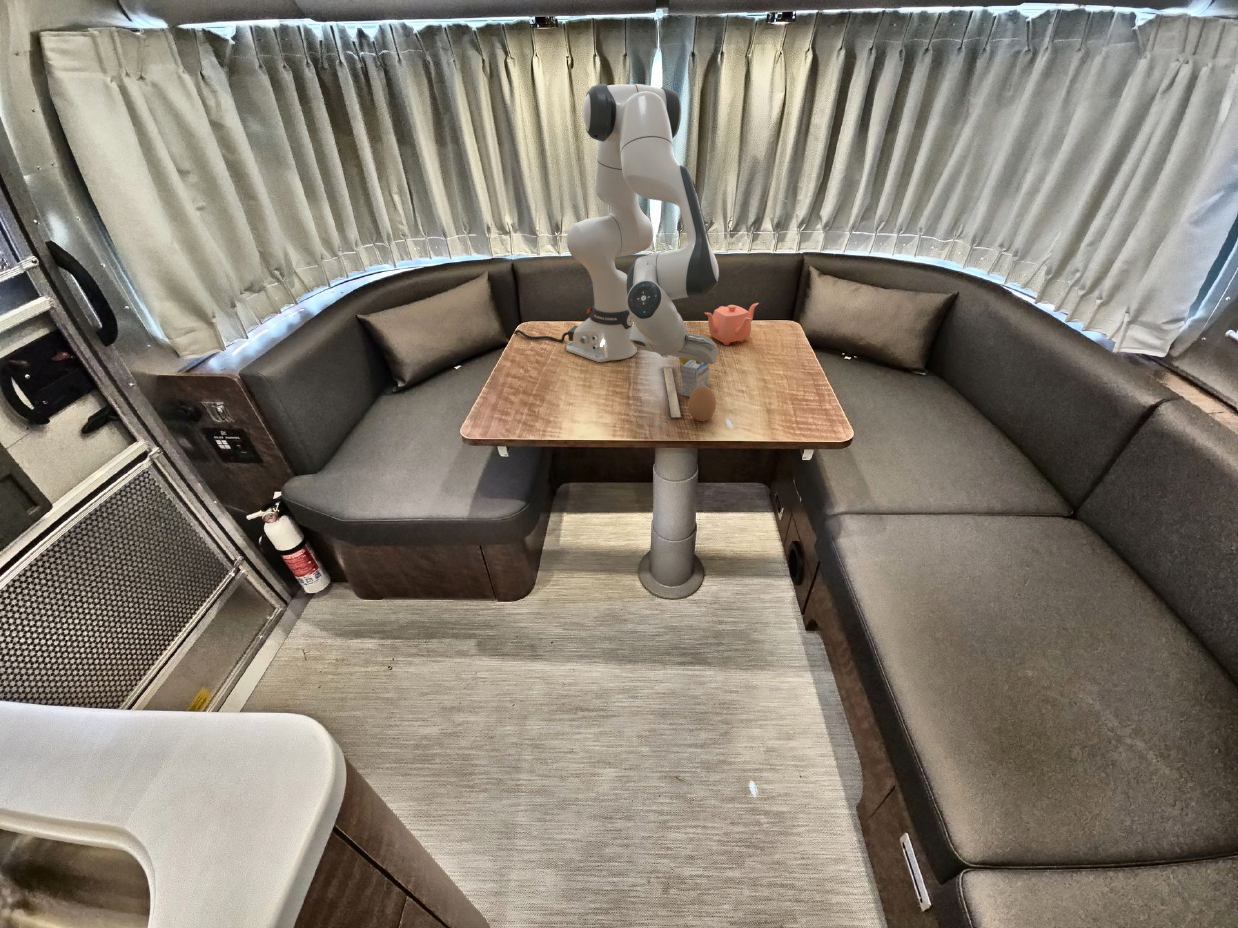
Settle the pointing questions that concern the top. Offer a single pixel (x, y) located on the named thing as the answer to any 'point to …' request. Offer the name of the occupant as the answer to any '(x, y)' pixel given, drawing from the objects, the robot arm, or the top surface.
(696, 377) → the medicine box
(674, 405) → the strip
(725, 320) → the teapot
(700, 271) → the robot arm
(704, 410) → the egg
